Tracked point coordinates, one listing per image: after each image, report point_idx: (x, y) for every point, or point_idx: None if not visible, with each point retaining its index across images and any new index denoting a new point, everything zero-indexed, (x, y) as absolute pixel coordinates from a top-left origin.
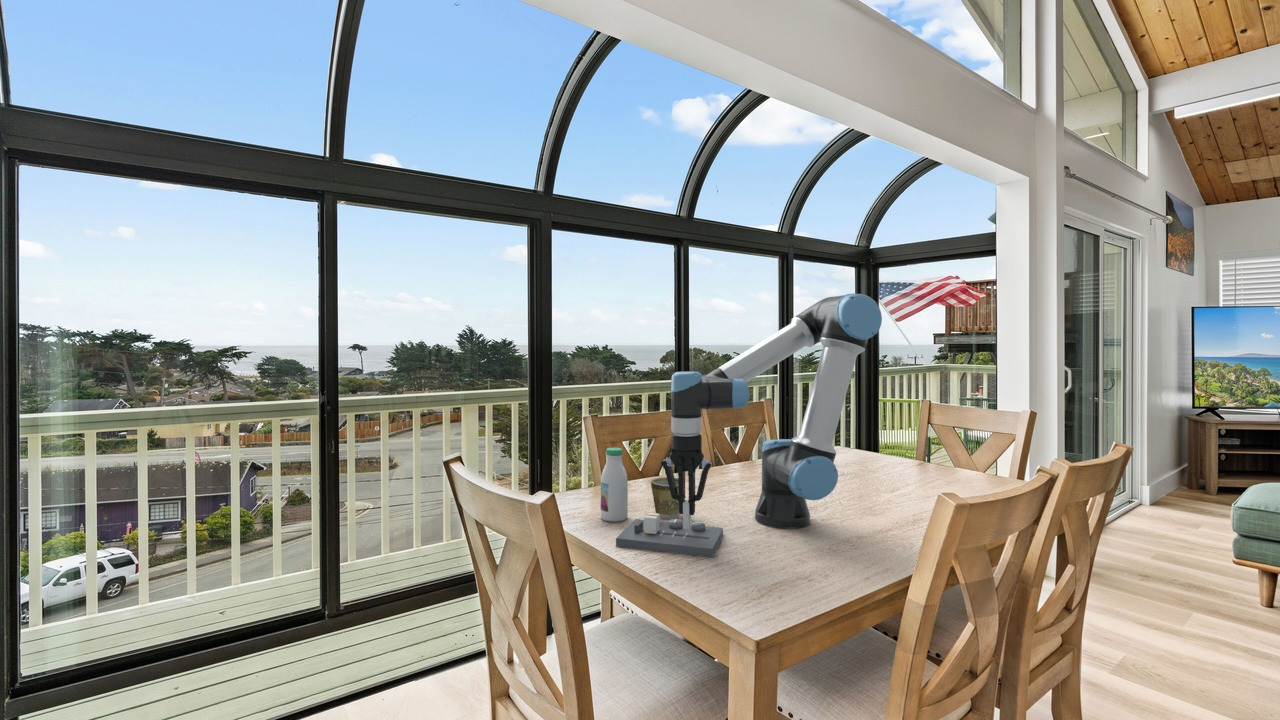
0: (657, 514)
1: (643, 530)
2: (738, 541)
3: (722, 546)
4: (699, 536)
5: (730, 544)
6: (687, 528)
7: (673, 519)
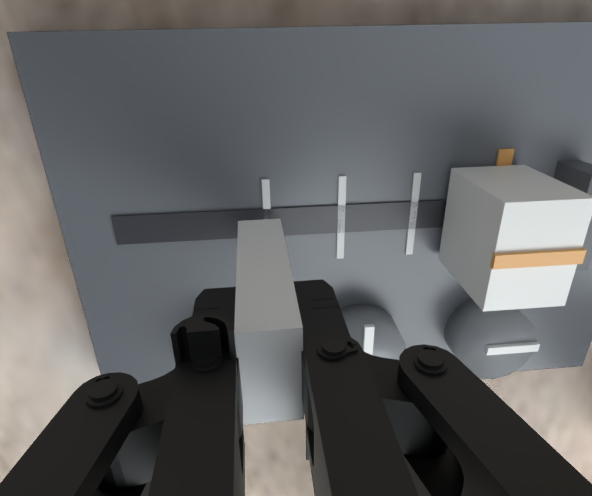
0: (498, 292)
1: None
2: (13, 331)
3: (58, 236)
4: (179, 232)
5: (31, 278)
6: (248, 221)
7: None
